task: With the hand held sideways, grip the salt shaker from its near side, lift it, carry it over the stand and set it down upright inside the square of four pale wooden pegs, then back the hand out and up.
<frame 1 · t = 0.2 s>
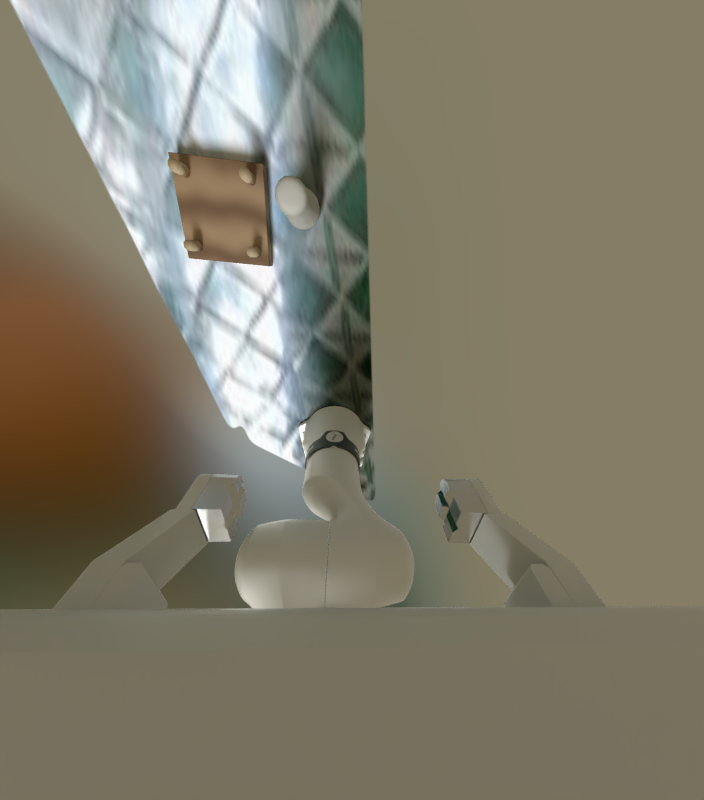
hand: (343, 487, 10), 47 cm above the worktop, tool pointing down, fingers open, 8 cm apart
peg stand: (229, 216, 44), on the worktop
salt shaker: (304, 211, 44), on the worktop
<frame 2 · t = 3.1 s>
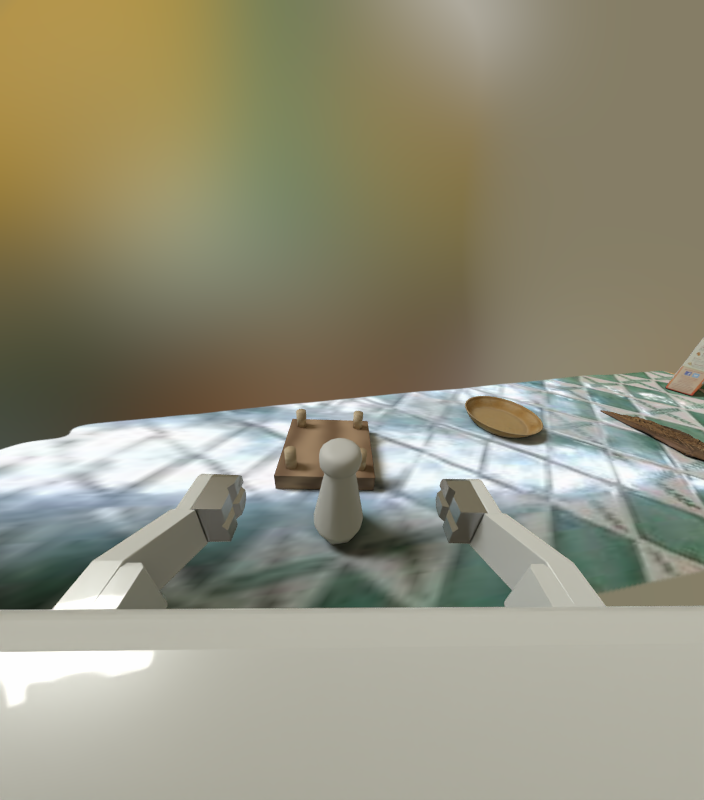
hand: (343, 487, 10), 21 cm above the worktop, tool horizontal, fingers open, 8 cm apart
peg stand: (327, 455, 42), on the worktop
plant saucer: (497, 423, 55), on the worktop
cracker box: (683, 388, 77), on the worktop
salt shaker: (337, 529, 31), on the worktop
wooden fragment: (675, 443, 52), on the worktop
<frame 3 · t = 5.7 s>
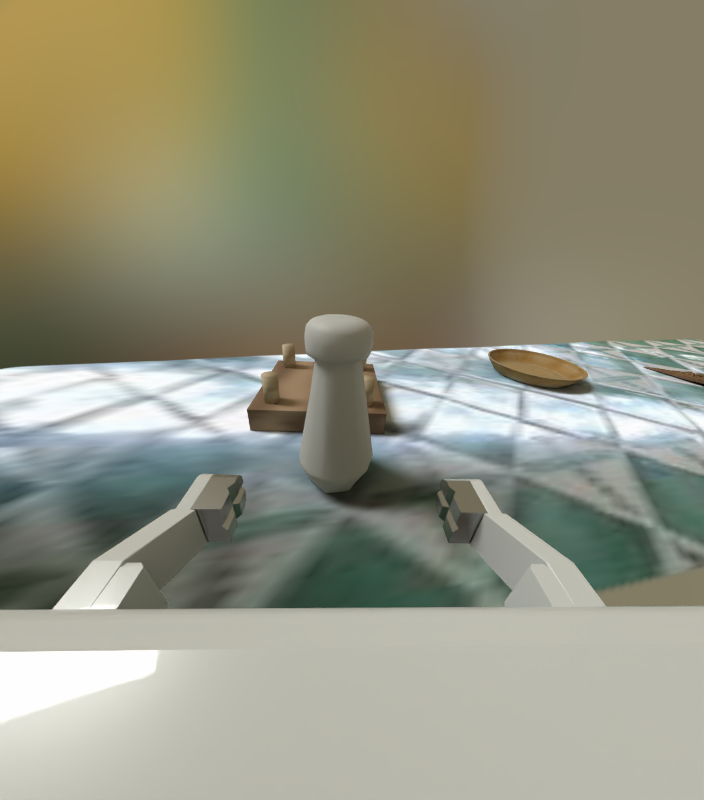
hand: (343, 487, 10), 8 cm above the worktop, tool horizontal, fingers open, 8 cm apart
peg stand: (322, 399, 33), on the worktop
plant saucer: (528, 376, 45), on the worktop
salt shaker: (335, 476, 22), on the worktop
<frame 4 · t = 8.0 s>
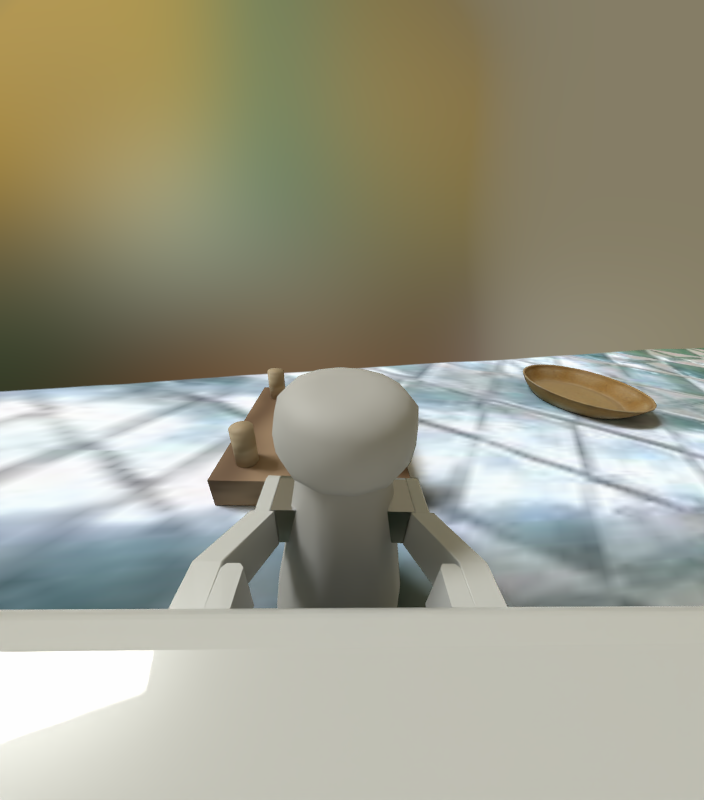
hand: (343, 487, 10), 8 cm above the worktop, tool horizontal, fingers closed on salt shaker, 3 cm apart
peg stand: (320, 444, 25), on the worktop
plant saucer: (573, 401, 37), on the worktop
salt shaker: (337, 605, 14), on the worktop, touching gripper
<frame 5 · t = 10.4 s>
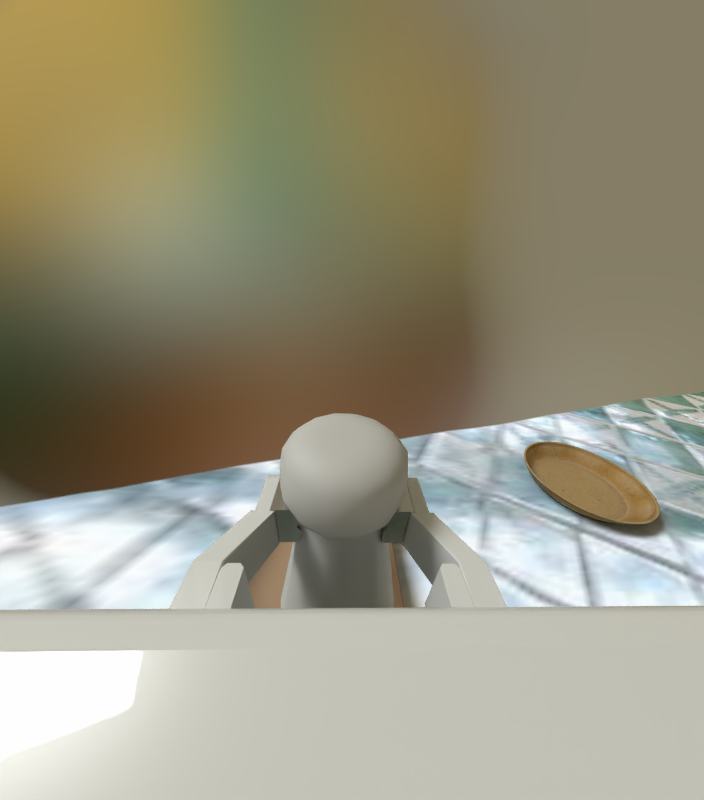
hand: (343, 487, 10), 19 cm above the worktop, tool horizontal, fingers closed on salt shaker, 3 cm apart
peg stand: (319, 586, 24), on the worktop
plant saucer: (574, 488, 37), on the worktop
salt shaker: (336, 621, 14), point 9 cm above the worktop, touching gripper
when the fingers open (12 cm above the worktop, at t = 12.8 s): salt shaker stays where it is, resting on peg stand.
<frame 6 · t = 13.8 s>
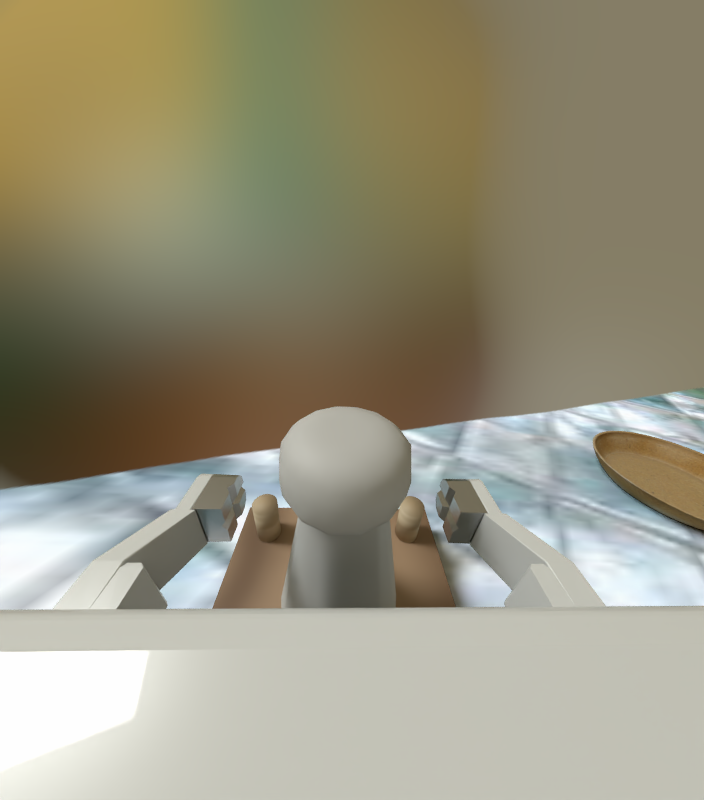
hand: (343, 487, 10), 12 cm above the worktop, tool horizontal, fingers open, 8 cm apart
peg stand: (335, 634, 15), on the worktop
plant saucer: (665, 491, 28), on the worktop
salt shaker: (337, 619, 14), point 2 cm above the worktop, touching peg stand
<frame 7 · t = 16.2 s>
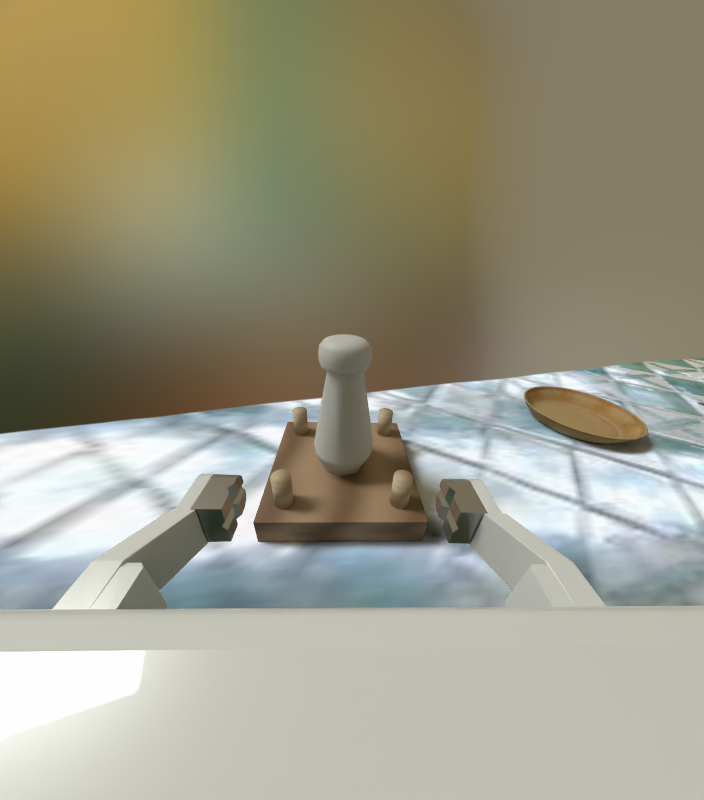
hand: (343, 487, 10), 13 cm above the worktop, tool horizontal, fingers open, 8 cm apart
peg stand: (342, 478, 28), on the worktop
plant saucer: (571, 423, 40), on the worktop
salt shaker: (343, 463, 26), point 2 cm above the worktop, touching peg stand
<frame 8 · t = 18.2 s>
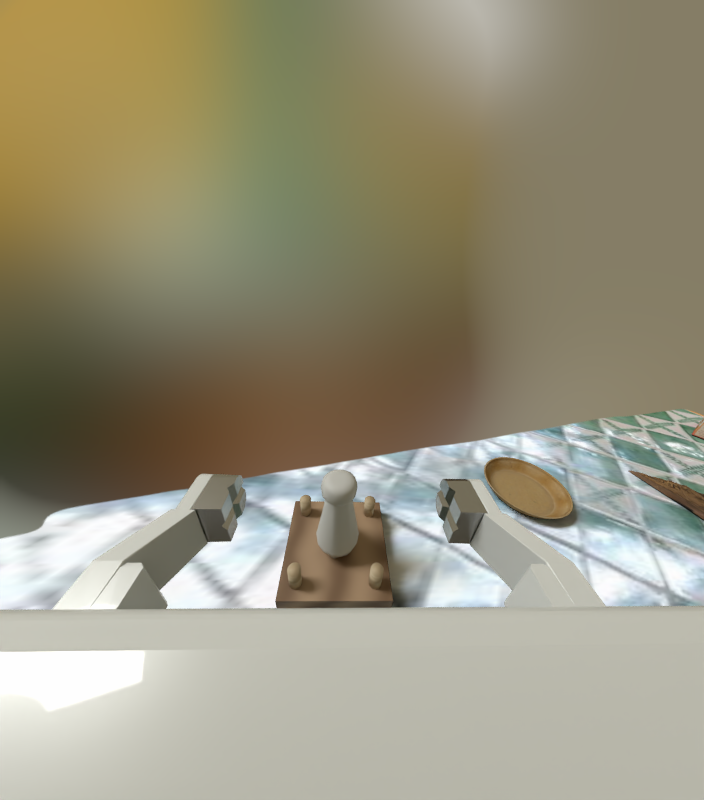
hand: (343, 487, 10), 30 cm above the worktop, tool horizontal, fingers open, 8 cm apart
peg stand: (336, 553, 37), on the worktop
plant saucer: (520, 493, 50), on the worktop
salt shaker: (337, 544, 36), point 2 cm above the worktop, touching peg stand
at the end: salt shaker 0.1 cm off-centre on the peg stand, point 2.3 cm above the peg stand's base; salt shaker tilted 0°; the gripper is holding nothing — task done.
